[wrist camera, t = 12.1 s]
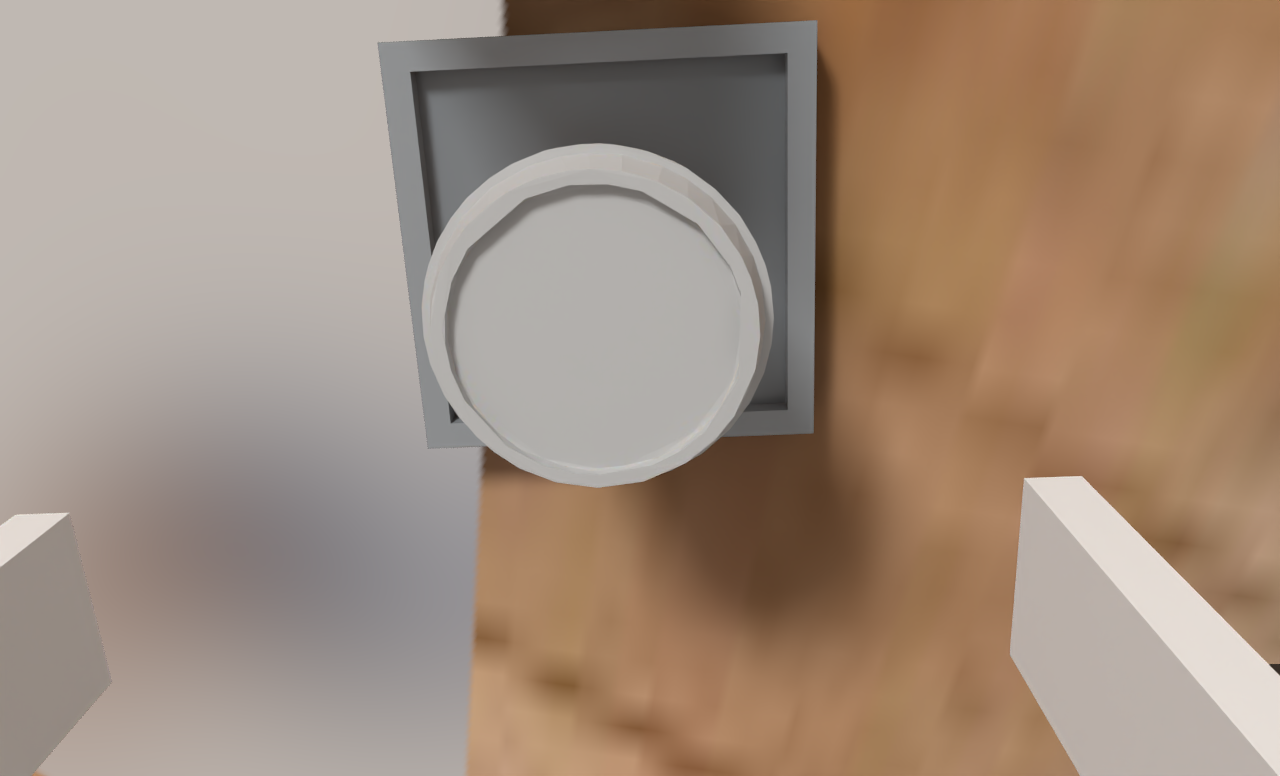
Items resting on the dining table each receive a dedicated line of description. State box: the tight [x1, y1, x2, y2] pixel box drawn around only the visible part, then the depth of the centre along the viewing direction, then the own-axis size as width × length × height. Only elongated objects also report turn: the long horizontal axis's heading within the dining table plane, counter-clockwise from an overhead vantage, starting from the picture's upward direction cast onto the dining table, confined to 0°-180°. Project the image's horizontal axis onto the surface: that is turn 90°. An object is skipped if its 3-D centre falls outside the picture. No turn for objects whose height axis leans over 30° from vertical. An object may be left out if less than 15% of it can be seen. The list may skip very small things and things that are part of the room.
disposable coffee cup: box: [422, 143, 774, 488], centre depth 32 cm, size 10×10×12 cm
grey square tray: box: [378, 20, 817, 449], centre depth 38 cm, size 15×15×2 cm
